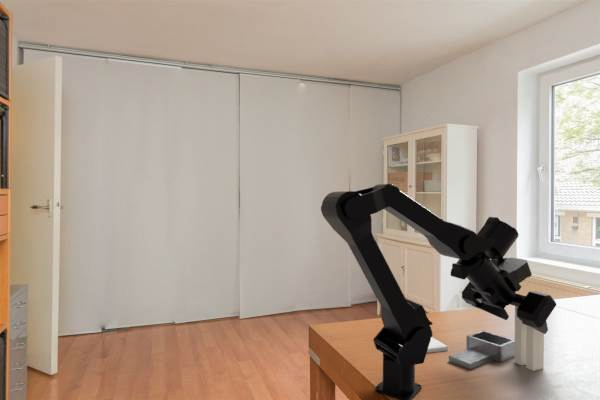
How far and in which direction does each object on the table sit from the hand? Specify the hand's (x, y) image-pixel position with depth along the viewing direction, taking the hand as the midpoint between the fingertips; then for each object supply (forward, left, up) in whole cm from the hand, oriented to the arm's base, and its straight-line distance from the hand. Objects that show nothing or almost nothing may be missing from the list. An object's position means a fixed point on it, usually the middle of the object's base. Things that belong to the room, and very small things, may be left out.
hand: (525, 324), depth 83 cm
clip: (+1, -1, -9) cm, 9 cm away
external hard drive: (-4, +22, -10) cm, 25 cm away
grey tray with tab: (-1, +8, -9) cm, 12 cm away
